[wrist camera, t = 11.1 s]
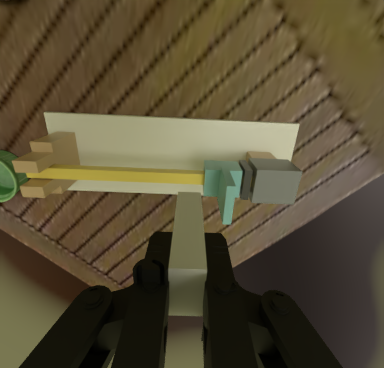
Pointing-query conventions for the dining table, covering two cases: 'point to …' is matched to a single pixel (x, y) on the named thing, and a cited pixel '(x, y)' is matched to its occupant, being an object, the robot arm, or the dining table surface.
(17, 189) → the ramekin
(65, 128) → the cord rig
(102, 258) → the dining table surface
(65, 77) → the dining table surface
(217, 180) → the sleeve
